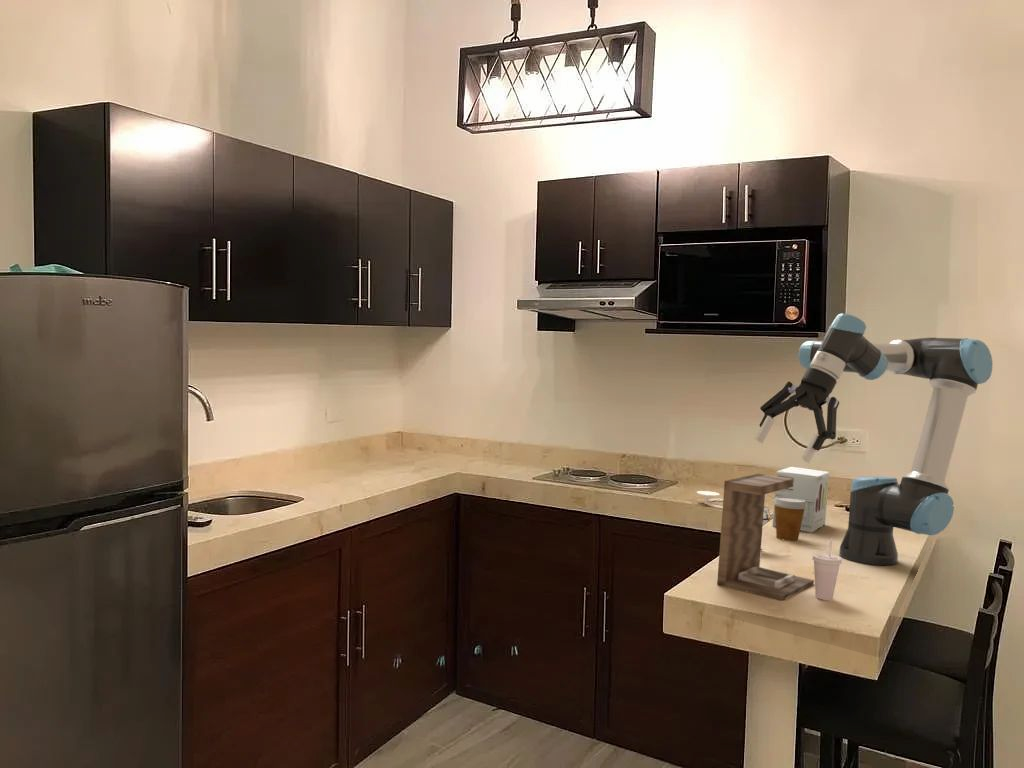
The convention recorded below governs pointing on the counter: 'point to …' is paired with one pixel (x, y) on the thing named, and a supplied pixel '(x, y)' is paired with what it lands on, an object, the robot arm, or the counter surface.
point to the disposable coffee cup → (788, 517)
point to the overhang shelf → (751, 539)
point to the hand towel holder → (708, 500)
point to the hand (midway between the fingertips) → (781, 450)
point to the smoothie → (826, 573)
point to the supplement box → (807, 494)
